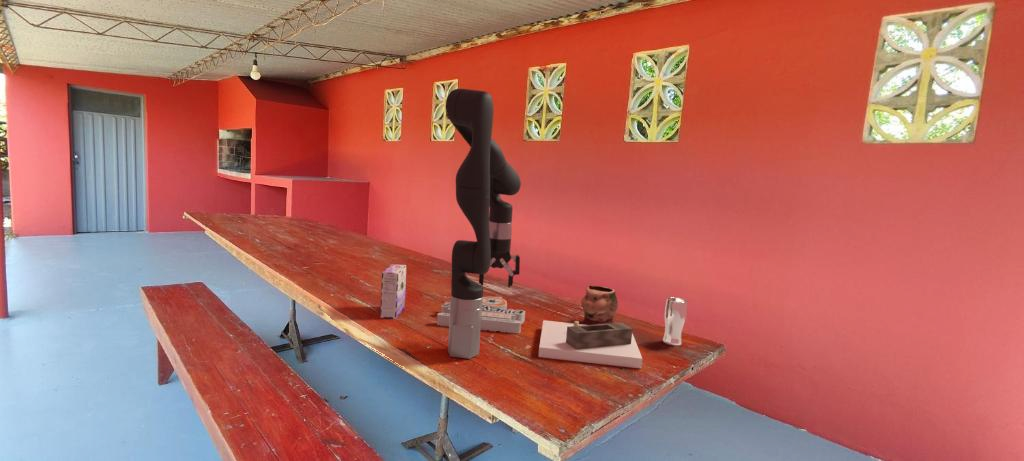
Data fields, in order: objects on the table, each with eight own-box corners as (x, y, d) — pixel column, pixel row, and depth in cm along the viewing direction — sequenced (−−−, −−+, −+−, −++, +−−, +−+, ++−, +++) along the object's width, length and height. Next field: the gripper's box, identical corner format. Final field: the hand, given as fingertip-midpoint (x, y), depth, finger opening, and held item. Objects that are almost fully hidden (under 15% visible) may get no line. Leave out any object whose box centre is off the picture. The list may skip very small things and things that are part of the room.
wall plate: (641, 368, 143) (643, 347, 142) (538, 356, 146) (540, 335, 145) (630, 337, 169) (632, 319, 168) (542, 328, 172) (544, 310, 171)
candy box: (389, 306, 184) (391, 263, 182) (405, 307, 184) (407, 264, 182) (379, 318, 170) (381, 271, 168) (396, 319, 170) (398, 272, 168)
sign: (433, 314, 167) (452, 292, 197) (432, 325, 168) (452, 302, 197) (522, 323, 164) (528, 299, 194) (521, 335, 165) (527, 309, 194)
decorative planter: (593, 315, 192) (597, 280, 190) (623, 322, 186) (627, 286, 184) (571, 327, 175) (575, 289, 173) (604, 335, 169) (608, 296, 167)
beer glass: (657, 340, 168) (662, 298, 166) (668, 337, 172) (673, 295, 170) (675, 347, 163) (680, 303, 161) (686, 343, 167) (692, 301, 165)
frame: (619, 337, 160) (621, 322, 159) (630, 344, 154) (632, 328, 154) (565, 342, 152) (567, 326, 151) (575, 349, 146) (577, 333, 145)
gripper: (475, 236, 149) (472, 288, 152) (522, 239, 150) (518, 290, 153) (476, 232, 156) (473, 281, 159) (521, 235, 157) (517, 283, 160)
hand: (495, 285), depth 156 cm, fingers open, 8 cm apart
